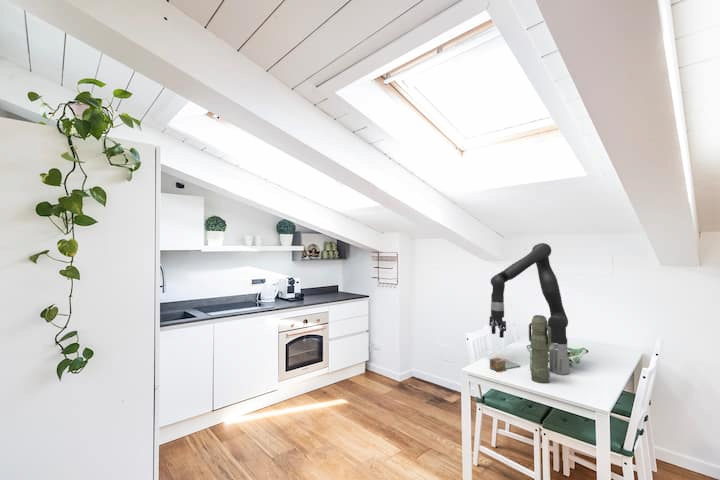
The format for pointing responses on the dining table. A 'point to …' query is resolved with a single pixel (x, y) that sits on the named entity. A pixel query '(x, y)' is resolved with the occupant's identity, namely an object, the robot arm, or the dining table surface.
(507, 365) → the coaster
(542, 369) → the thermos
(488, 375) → the dining table surface
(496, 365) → the walnut block
